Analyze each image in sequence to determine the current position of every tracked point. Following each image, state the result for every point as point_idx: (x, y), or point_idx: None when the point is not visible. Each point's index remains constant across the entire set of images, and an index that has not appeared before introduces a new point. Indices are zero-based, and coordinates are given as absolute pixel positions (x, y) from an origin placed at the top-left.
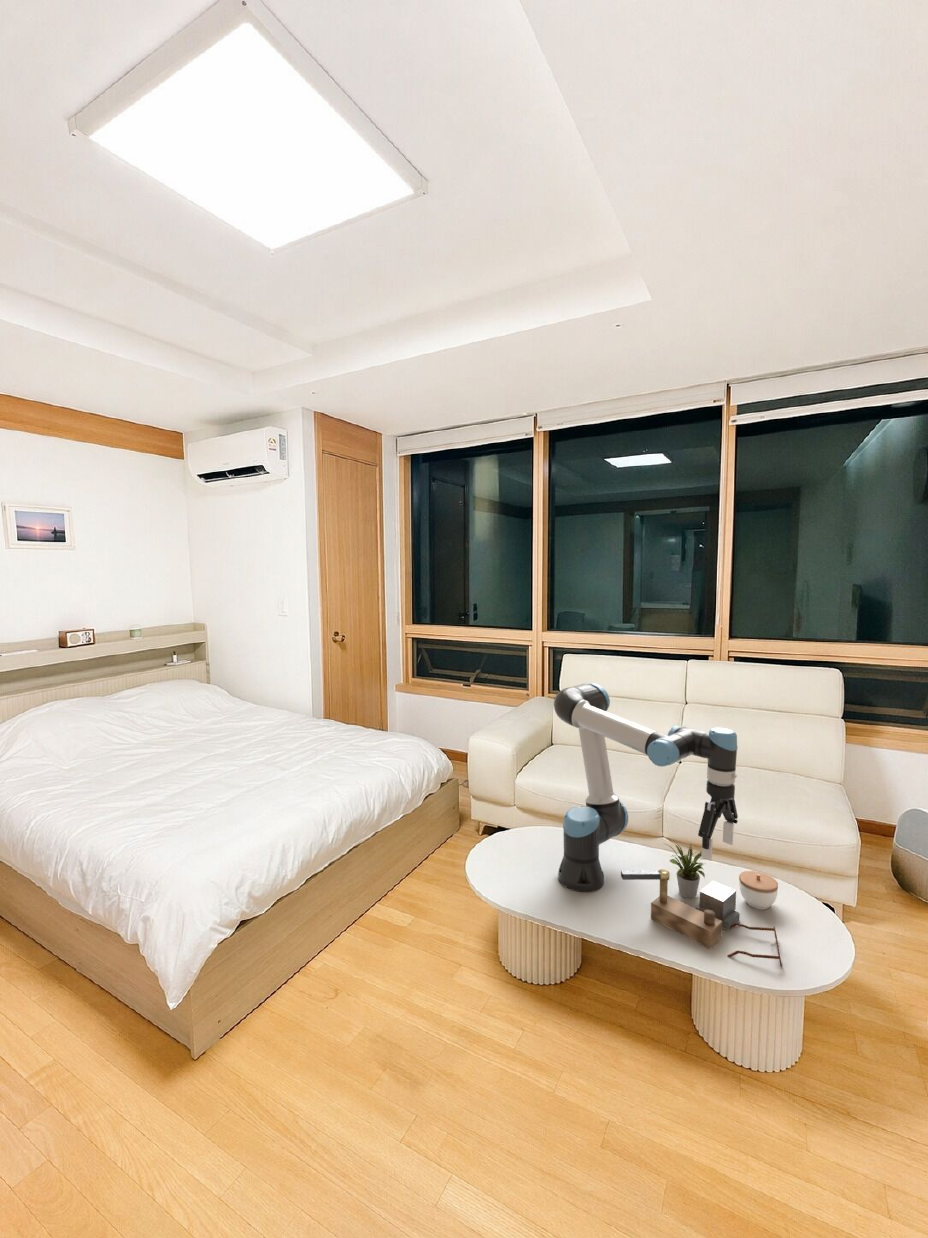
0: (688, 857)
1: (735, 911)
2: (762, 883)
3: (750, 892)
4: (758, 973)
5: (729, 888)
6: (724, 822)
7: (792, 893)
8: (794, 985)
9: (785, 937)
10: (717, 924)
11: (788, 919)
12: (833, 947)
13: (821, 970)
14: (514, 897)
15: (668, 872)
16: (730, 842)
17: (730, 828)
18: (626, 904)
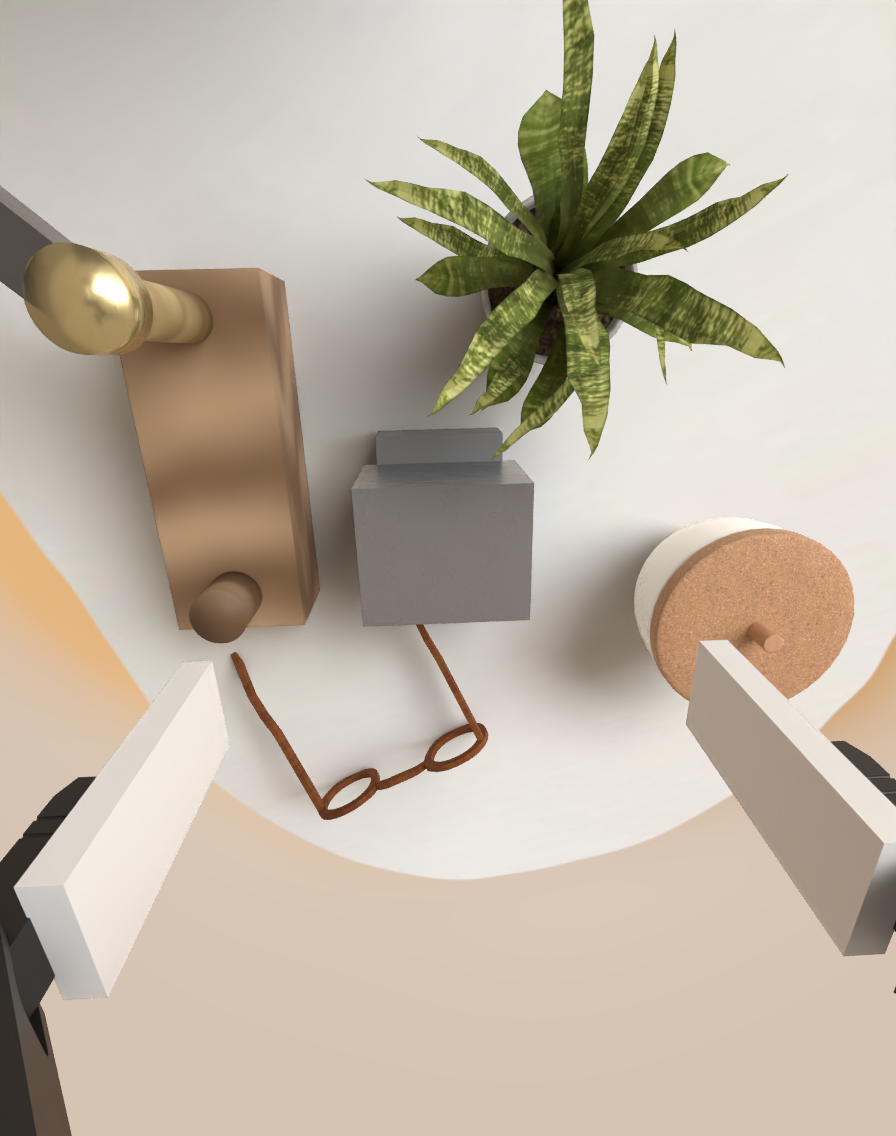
0: (592, 262)
1: None
2: None
3: (644, 614)
4: (244, 752)
5: (522, 588)
6: (871, 842)
7: (879, 636)
8: (290, 831)
9: (524, 731)
10: (258, 624)
11: (655, 696)
12: (586, 835)
13: (432, 850)
14: None
15: (113, 332)
16: (700, 728)
17: (801, 862)
18: (130, 77)
